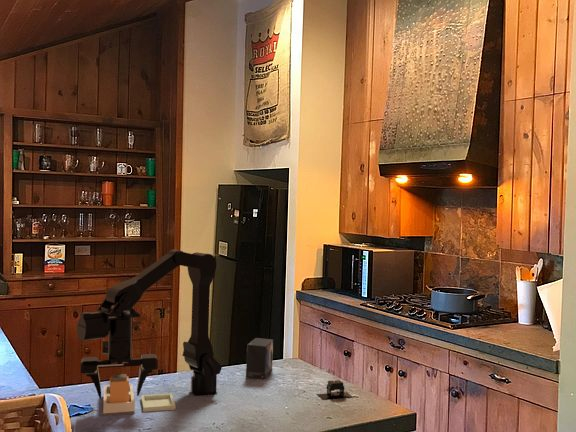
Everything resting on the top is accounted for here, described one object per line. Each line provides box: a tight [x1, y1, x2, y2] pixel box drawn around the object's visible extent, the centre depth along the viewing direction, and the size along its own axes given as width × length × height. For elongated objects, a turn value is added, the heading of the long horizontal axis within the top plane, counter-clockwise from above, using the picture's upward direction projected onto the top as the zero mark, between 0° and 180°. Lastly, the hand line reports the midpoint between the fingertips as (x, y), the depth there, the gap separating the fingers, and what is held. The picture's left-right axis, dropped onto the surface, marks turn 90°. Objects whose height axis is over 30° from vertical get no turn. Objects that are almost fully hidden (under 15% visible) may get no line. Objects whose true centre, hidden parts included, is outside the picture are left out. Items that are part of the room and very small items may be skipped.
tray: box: [140, 393, 177, 413], centre depth 160 cm, size 8×10×2 cm
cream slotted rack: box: [102, 383, 136, 417], centre depth 159 cm, size 8×16×6 cm, turn 17°
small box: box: [245, 337, 274, 380], centre depth 193 cm, size 11×6×10 cm, turn 168°
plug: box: [109, 373, 130, 403], centre depth 155 cm, size 4×4×8 cm
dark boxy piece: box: [315, 379, 355, 401], centre depth 172 cm, size 12×7×5 cm, turn 107°
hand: (119, 396), depth 155 cm, fingers open, 9 cm apart
